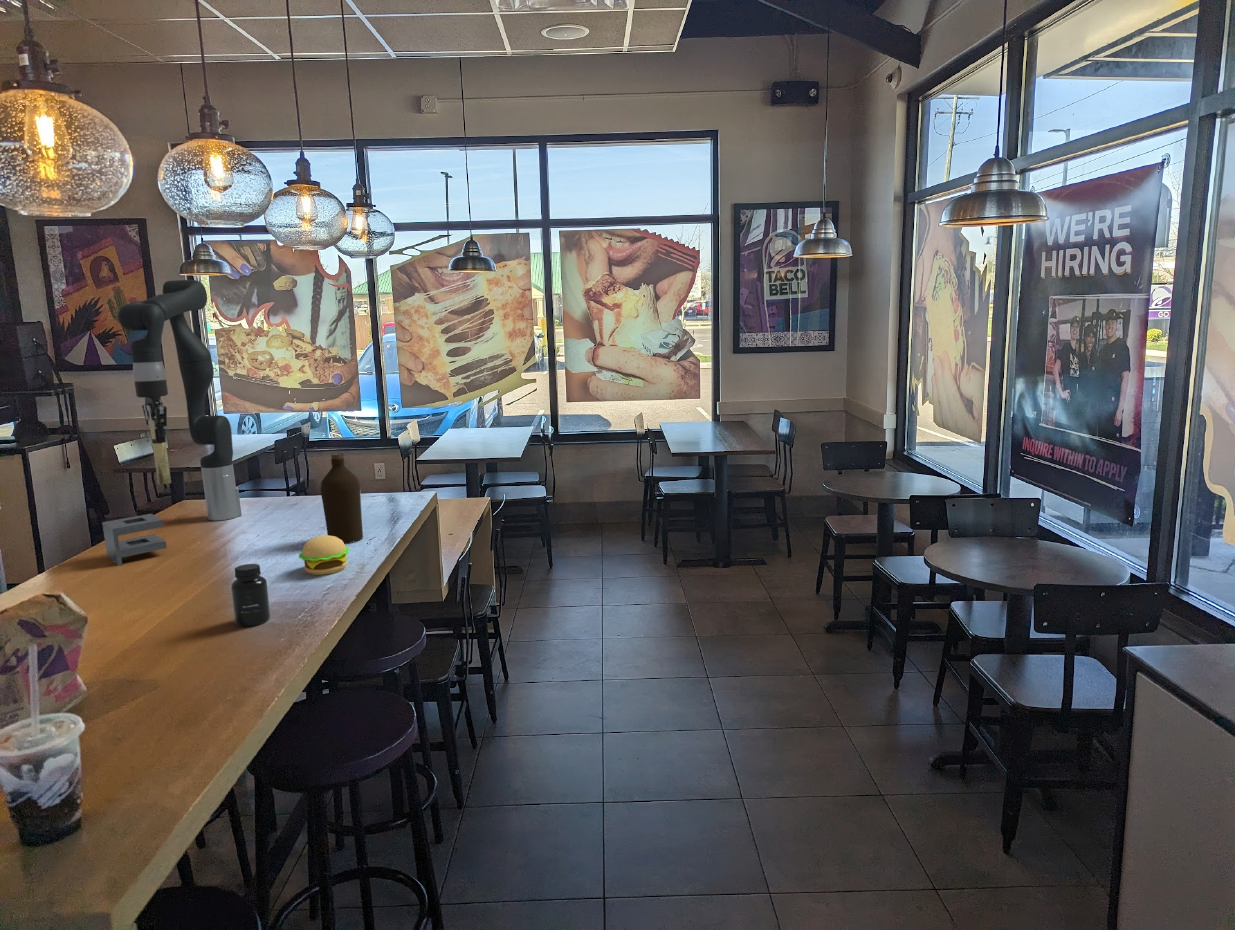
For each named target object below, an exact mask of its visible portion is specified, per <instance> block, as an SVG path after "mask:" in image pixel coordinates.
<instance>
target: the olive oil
mask: <svg viewBox="0 0 1235 930" xmlns="http://www.w3.org/2000/svg"><path fill="white" fill-rule="evenodd" d="M330 456H331V459H330V461H331V468H330V469H329V471H328V472H327V473H326V475H325V476H323V479H322V480H321V483H320V495H321V500H322V501H321V502H322V506H323V512H324V519H325V527H326V533H327V535H329V536H335V537H337V538H339V539H341V540H342V541H343V542H344V543H348V544H351V543H350V542H353V541H357V540H359V541H361V540H362V539H363V538H364V532H363V518H362V517H363V516H362V495H361V494H362V493H361V492H362V491H361V484H360V480H359V478H358V477H357V476H356V474H354V473H353V472H352V471H351V470H350V469H348V468H347V467H346V466H345V458H344V453H342V452H333V453H331V454H330ZM361 538H362V539H361ZM360 539H361V540H360ZM357 542H358V541H357ZM353 543H354V542H353Z"/></svg>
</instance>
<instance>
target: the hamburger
mask: <svg viewBox="0 0 1235 930" xmlns="http://www.w3.org/2000/svg"><path fill="white" fill-rule="evenodd" d="M349 551H350V548H349V547H348V545H346V544H344V542H343V541H342V540H341V539H339V538H337V537H335V536H329V535H328V534H327V535H326V534H325V535H318V536H315V537H314V538H311V539H309V540H308V541H306V543H305V544H304V545H303V547H302V549H301V552H299V554H298V558H299V559H301V560H302V561H304V567H303V568H304V571H305V572H306V573H307V574H308V575H311V576H326V575H331V574H336V573H339V572H341V571H343V570H345V568H346V566H347V563H348V562H347V559H348V556H347V554H349Z"/></svg>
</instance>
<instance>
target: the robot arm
mask: <svg viewBox="0 0 1235 930" xmlns="http://www.w3.org/2000/svg"><path fill="white" fill-rule="evenodd" d="M207 302H208V293H207V290H206V287H205V285H204V284H203V283H202V282H201V281H199V280H195V279H182V280H181V279H180V280H178V279H177V280H166V281H165V282H164V283H163V286H162V293H161V294H157V295H154V296H152V297H150V298H147V299H146V300H141V301H135V302H130V303H126V304H124V305H122V307H121V308H119V310H118V313H117V320H118V322H119V324H120V326H121V327H122V328H124V330H126V331H131V332H142V331H143V332H145V331H146V335H145V337H144V338H141V339H137V340H134V341H132V342H131V343H130V351H131V359H132V373H133V381H134V387H135V388H134V389H135V396H136V397H137V398H141V399H142V398H143V399H144V404H142V405H141V409H142V411H143V415H144V420H145V424H146V426H148V428H149V429H150V422H149V419H150V420H151V421H153V425H154V430H155V438H156V442H157V443H162V442H165V441H166V442H167V440H166V439H165V438H166V434H165V433H166V432H165V429H166V427H167V426H168V421H167V419H168V418H167V417H168V415H167V411H168V410H167V409H168V408H167V406H166V405H165V404H164V403H163V402H162V398H161V397H166V396H168V395H169V391H168V385H167V382H168V381H167V377H166V369H165V367H164V362H163V354H162V336H163V331H164V325H165V322H166V321H168V320H169V323H170V324H169V325H170V327H171V331H172V334H173V338H174V339H173V340H174V344H175V349H176V355H177V361H178V365H179V366H178V367H179V370H180V375H181V380H182V384H183V389H184V394H185V400H186V401H185V402H186V409H187V410H186V411H187V421H188V430H189V435H190V436H191V439H192V441H193V443H195V444H196V445H199V446H202V445H203V446H208V445H209V446H211V445H212V446H213V451H212V452H211V453H210V454H207V455H204V456H202V457H201V458H200V470H201V477H202V483H203V490H204V497H205V498H204V500H205V504H206V505H205V506H206V512H207V513H206V514H207V519H208V520H209V521H224V520H225V521H227V520H230V519H235V518H238V517H241V516H243V515H242V507H241V499H240V498H241V497H240V492H239V491H240V490H239V487H238V486H236V484H237V483H236V478H235V471H234V464H233V456H234V450H233V434H232V432H233V431H232V427H231V423H230V420H229V419H228V417H226V416H224V415H206V411H205V410H206V409H205V400H206V395H207V393H208V391H209V388H210V386H211V384H212V381H213V379H214V376H215V375H214V374H215V372H214V365H213V359H212V355H211V354H212V353H211V351H210V350H209V348H208V347H207V346H206V344H205V343H204V342H203V341H202V340H201V339H200V337H198V336H197V335H196V334H195V333H194V331H193V330H192V328H191V327H190V326H189V324H188V322H187V320H186V317H185V314H184V313H187V312H194V311H200V310H203V309H204V308H205V307H206V305H207ZM159 420H160V421H161V422H160V423H159ZM163 428H164V429H163ZM150 432H151V429H150ZM150 437H151V439H152V436H151V435H150Z"/></svg>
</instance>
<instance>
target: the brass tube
mask: <svg viewBox="0 0 1235 930" xmlns="http://www.w3.org/2000/svg"><path fill="white" fill-rule="evenodd" d="M149 422H150V428H149V429H151V431H150V437H151V436H152V438H151V444H152V450H153V459H154V463H155V471H156V479H157V485H168V484H172V479H171V472H170V471H171V469H170V462H169V457H168V456H169V455H168V448H167V440H166V441H165V442H162V443H157V442H156V438H155V430H154V425H153V421H151V420H150V419H149ZM160 422H161V421H160V420H159V423H160ZM163 429H164V430H165V428H163ZM165 439H166V437H165Z"/></svg>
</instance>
